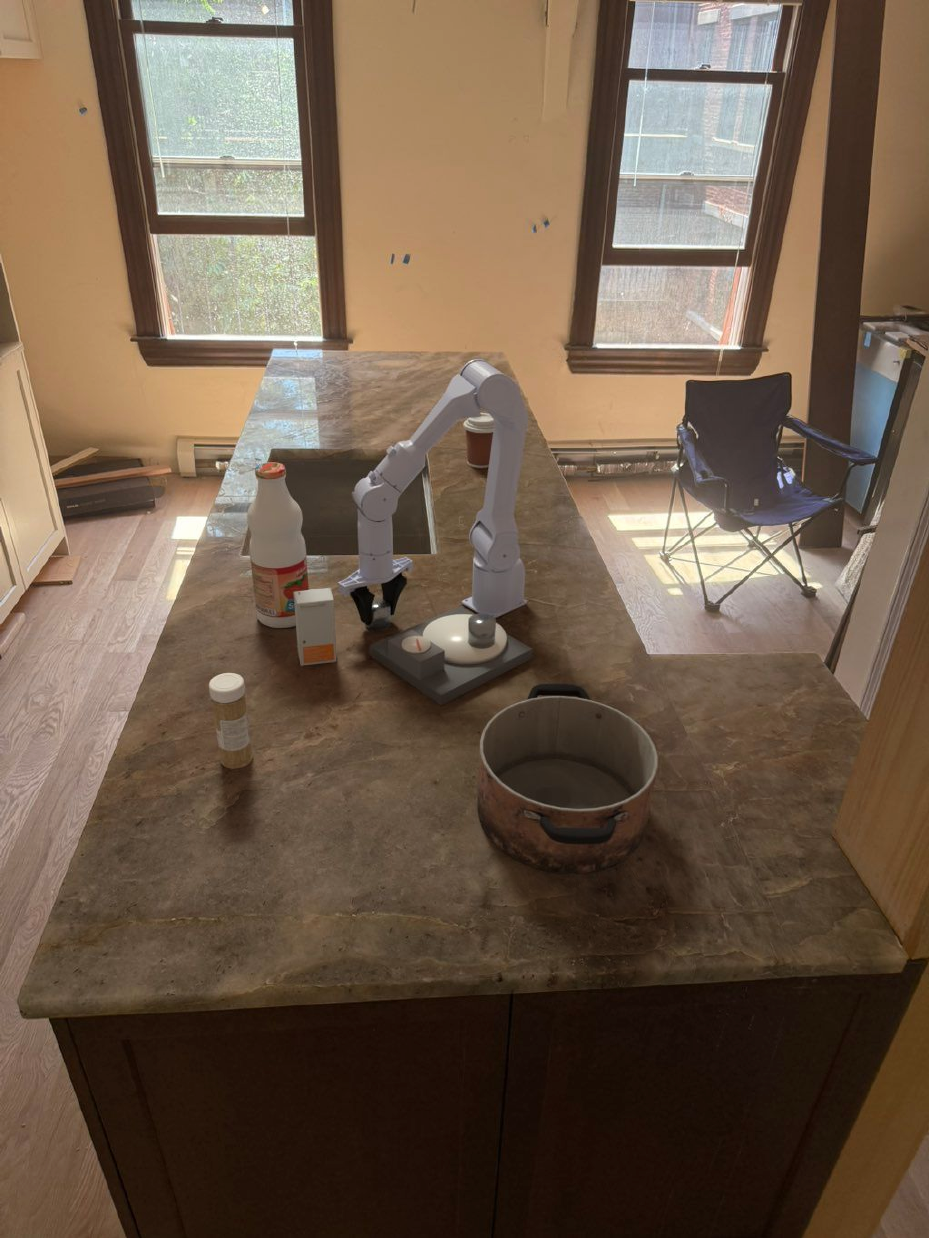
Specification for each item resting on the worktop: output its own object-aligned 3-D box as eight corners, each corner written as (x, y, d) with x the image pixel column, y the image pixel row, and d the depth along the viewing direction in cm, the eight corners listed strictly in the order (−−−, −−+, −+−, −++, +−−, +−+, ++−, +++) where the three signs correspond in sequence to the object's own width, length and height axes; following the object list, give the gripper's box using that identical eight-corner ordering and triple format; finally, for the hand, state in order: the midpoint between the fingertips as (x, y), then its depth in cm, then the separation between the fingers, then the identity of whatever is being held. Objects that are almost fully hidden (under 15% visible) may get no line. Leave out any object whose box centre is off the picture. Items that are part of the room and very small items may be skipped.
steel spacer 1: (380, 615, 157) (379, 595, 155) (395, 625, 154) (395, 605, 152) (359, 623, 154) (359, 604, 152) (375, 634, 151) (374, 614, 149)
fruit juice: (265, 600, 160) (250, 455, 146) (316, 604, 159) (306, 458, 145) (250, 627, 152) (232, 476, 137) (303, 631, 151) (291, 480, 137)
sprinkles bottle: (222, 749, 124) (211, 671, 117) (255, 748, 125) (245, 670, 118) (218, 771, 120) (205, 692, 113) (251, 769, 121) (241, 690, 114)
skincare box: (300, 667, 142) (295, 603, 136) (297, 653, 146) (292, 590, 139) (338, 662, 144) (334, 599, 137) (334, 648, 147) (330, 586, 141)
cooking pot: (475, 737, 128) (477, 677, 123) (626, 740, 129) (636, 681, 123) (478, 900, 103) (482, 833, 97) (667, 903, 103) (682, 837, 98)
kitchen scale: (459, 615, 157) (460, 586, 154) (531, 658, 146) (533, 628, 143) (370, 655, 146) (369, 624, 143) (441, 705, 134) (441, 673, 131)
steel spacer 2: (481, 631, 148) (482, 610, 145) (500, 642, 145) (501, 621, 143) (462, 640, 145) (462, 619, 143) (480, 651, 142) (481, 630, 140)
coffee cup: (456, 459, 223) (457, 413, 217) (488, 455, 227) (490, 409, 220) (471, 472, 216) (473, 425, 210) (504, 467, 220) (507, 420, 213)
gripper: (394, 528, 153) (395, 595, 160) (325, 552, 145) (330, 622, 152) (420, 542, 149) (420, 610, 156) (351, 567, 140) (354, 639, 147)
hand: (377, 617), depth 153 cm, fingers closed on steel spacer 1, 4 cm apart
